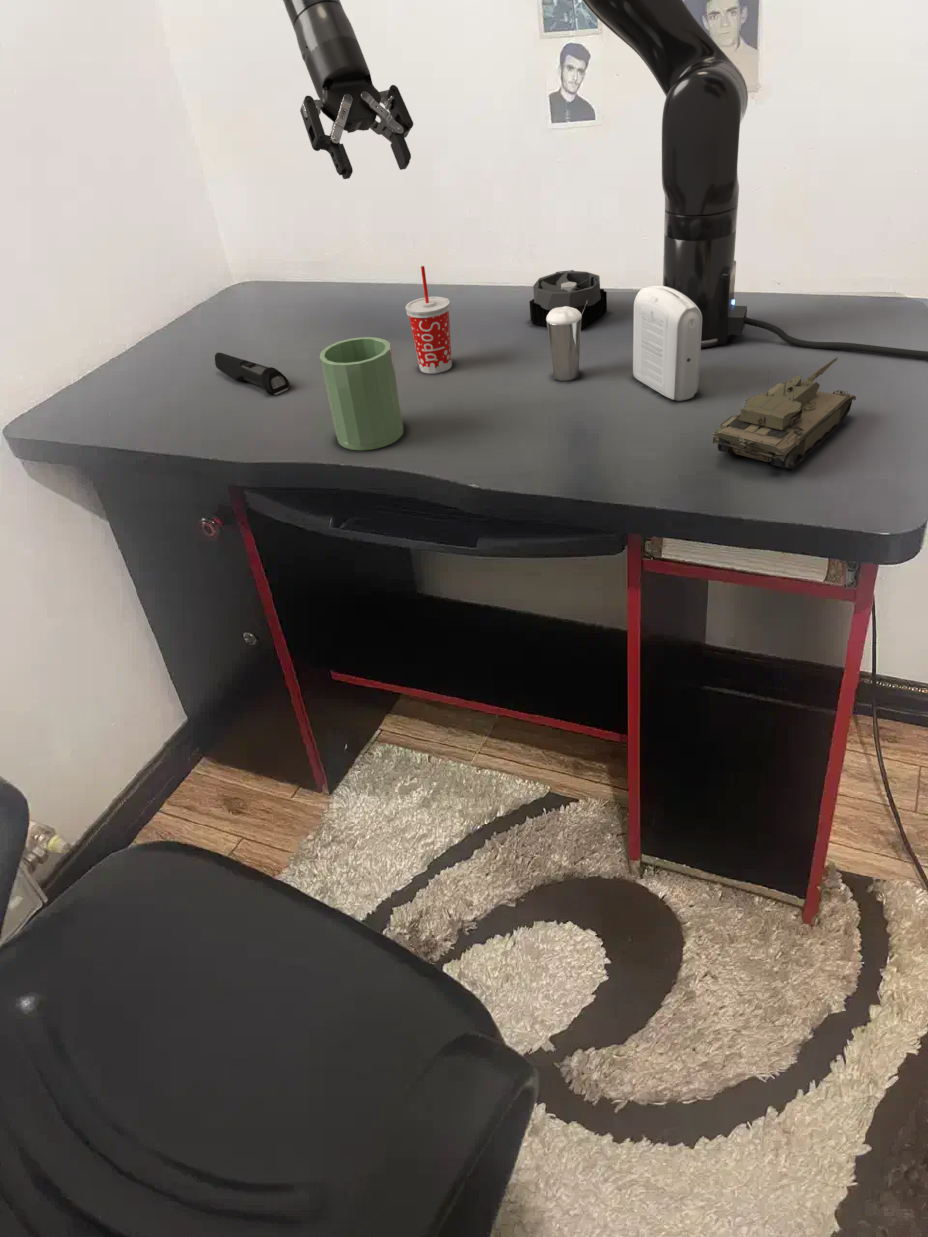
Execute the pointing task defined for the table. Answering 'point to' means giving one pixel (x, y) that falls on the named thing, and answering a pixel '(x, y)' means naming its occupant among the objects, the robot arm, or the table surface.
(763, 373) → the table surface
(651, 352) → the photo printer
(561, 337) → the milkshake
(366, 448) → the pen pot
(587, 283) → the cpu cooler
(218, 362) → the electric trimmer
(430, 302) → the beverage cup
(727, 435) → the tank
